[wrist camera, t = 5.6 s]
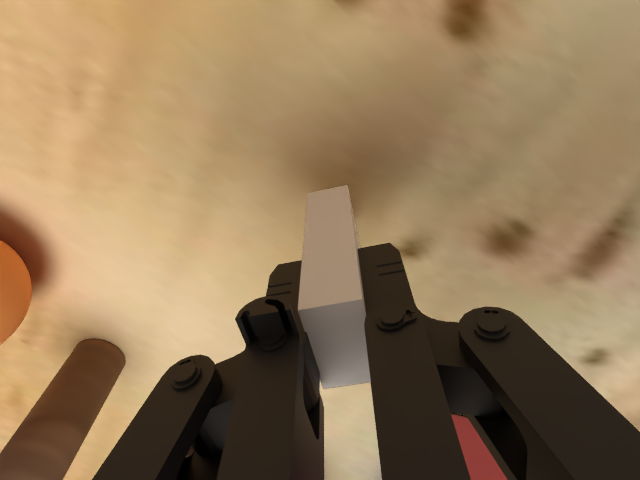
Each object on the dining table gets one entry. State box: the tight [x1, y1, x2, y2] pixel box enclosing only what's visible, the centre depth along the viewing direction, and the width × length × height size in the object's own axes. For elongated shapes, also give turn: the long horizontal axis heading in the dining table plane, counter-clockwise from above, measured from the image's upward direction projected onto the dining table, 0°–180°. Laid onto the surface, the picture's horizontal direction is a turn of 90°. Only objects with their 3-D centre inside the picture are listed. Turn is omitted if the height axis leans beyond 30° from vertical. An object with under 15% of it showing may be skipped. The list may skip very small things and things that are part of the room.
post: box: [0, 339, 125, 480], centre depth 18 cm, size 3×3×9 cm
